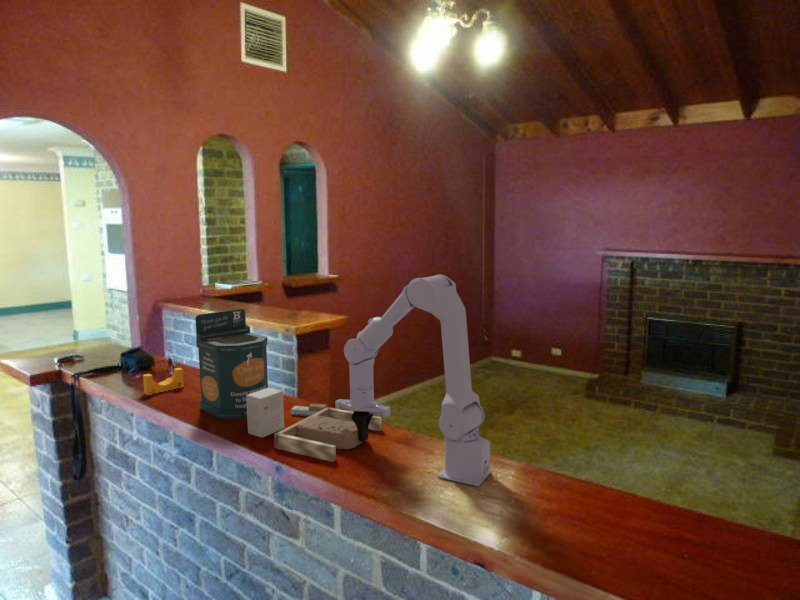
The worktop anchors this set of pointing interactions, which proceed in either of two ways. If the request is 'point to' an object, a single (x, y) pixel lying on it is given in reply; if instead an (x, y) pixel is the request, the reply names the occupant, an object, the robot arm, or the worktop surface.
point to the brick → (329, 431)
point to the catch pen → (313, 448)
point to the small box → (265, 412)
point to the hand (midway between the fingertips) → (363, 440)
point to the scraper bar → (307, 409)
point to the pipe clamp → (166, 385)
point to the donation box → (229, 363)
